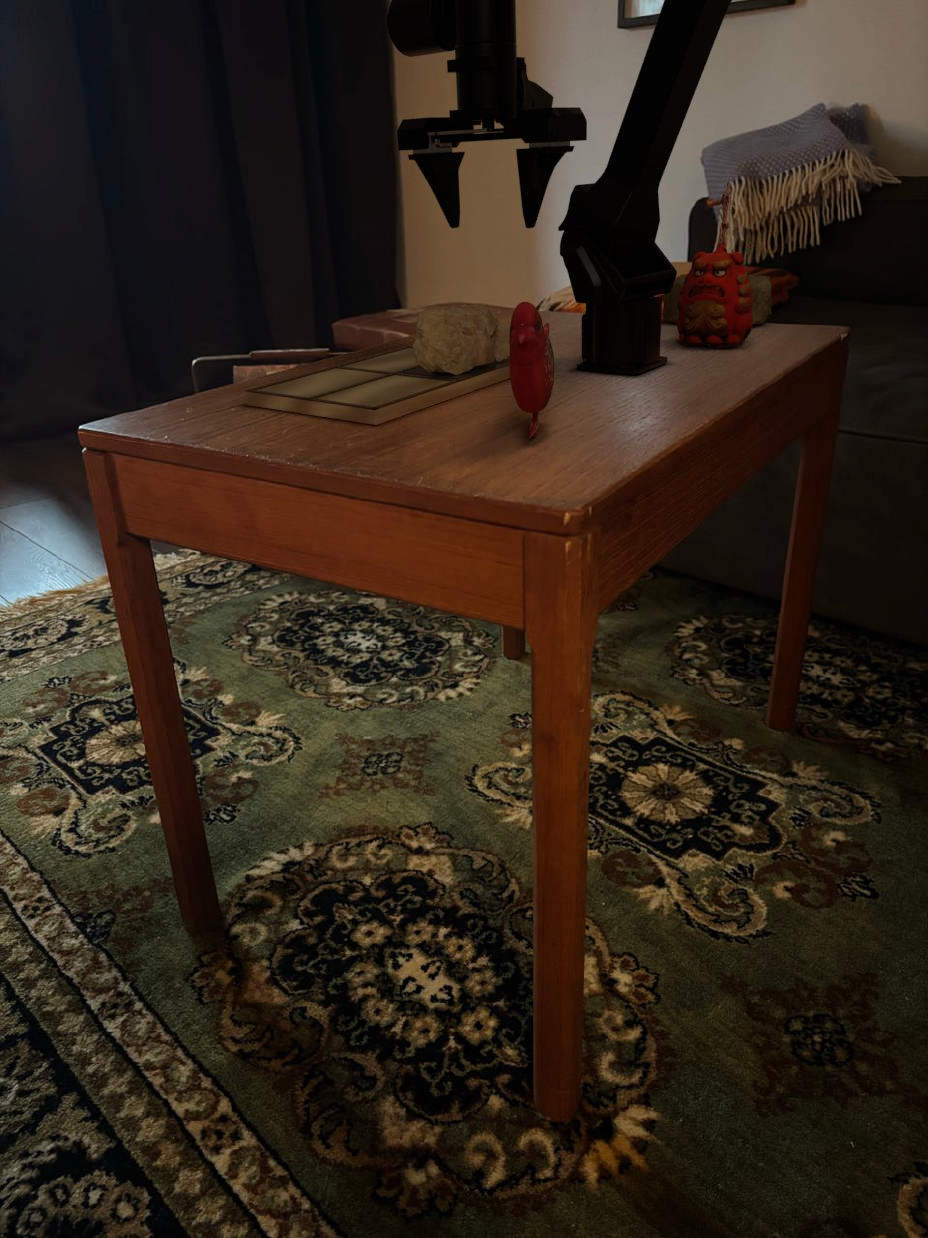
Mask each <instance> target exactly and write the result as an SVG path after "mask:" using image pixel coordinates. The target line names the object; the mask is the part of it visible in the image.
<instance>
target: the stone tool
mask: <svg viewBox="0 0 928 1238" xmlns="http://www.w3.org/2000/svg"><path fill="white" fill-rule="evenodd" d="M415 328H416V329H415V335H414V336H415V339H414V341H413V344H412V346H413V355H414V356H415V357H416V360H415V362H416V363H417V364H419V365H420V366H421V367H423V368H424V369H425V370H427V371H428V372H444V373H451V374H455V375H459V374H461V373H463V372H467V371H469V370H471V369H472V368H473V367H475V366H478V365H483V364H487V363H490V362H493V361H494V360H497V361H498V362H500V361H502V360H506V359H508V358H509V357H510V345H509V335H510V327H507V326H505V325H503V324H502V323H501V322H500V320H499V318H498V316H496V315H495V314H493V312H492V310H491V309H490V308H489V307H488V306H487V305H484V304H481V303H474V304H471V305H464V306H458V307H457V306H450V305H449V306H444V305H442V304H439V305H433V306H428V307H426V308H424V309H423V310H422V311H421V312H419V315H418V316H417V320H416V325H415Z"/></svg>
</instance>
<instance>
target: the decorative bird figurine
mask: <svg viewBox="0 0 928 1238" xmlns="http://www.w3.org/2000/svg"><path fill="white" fill-rule="evenodd" d="M509 329H510V335H509V345H510V361H509V362H510V378H509V379H510V385H511V391H512V394H513V398H514V400H515V402H516V404H517V406H518V408H519V409H520V410H521V411H523V412H524V413H527V414H532V415H531V419H530V422H529V429H528V435H529V436H528V439H529V440H531V439H532V438H534V437H536V436H537V434H538V431H539V427H540V421H539V413H540V412H543V410H544V409H545V408H546V407H547V406H548V404H549V402H550V400H551V396H552V393H553V388H554V383H555V355H554V354H555V353H554V349H553V345H552V342H551V339H550V324H549V322H546V323H545V324H544V323H543V320H542V317H541V313H540V312H539V310H538V309H537V307H536V305H534V304H533V303H532V302H529V301H521V302H520V303H518V304H517V305H516V307H515V308H514V310H513V312H512V315H511V320H510V325H509Z"/></svg>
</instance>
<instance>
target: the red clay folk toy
mask: <svg viewBox="0 0 928 1238" xmlns="http://www.w3.org/2000/svg"><path fill="white" fill-rule="evenodd" d="M731 193H732V191H731V182H726V191H724V192H723V193H722V197H721V199H713V198H712V197H708V198H707V199H705V202H706V206H705V208H706V209H707V210H708V209H709V210H710V209H711V208H713V207H715V206H720V205H721V206H722V221H721V224H720V226H721V233H720V234H721V235H720V238H719V240H718V244H717V248H716V249H715V250H714V251H713V252H711V253H708V252H704V251H699V252H697V253H695V255H694V256H693V257H692V261H691V266H690V269H689V271H688V272H687V273H686V274H687V276H686V278H685V281H684V284H683V286H682V288H681V289H680V294H679V299H678V310H679V315H678V320H677V323H676V328H677V329H676V330H677V332H678V340H679V342H680V343H681V344H682V345H683V344H686V345H695V346H697V345H704V346H709V347H711V348H731V347H738V346H739V347H740V344H741V343H743V342H745V341H746V340H747V338H748V337H749V335H750V334H751V332H752V330H753V325H754V324H753V314H752V303H753V296H752V289H751V284H750V280H749V277H748V275H749V274H748V272H747V270H746V267H745V265H744V263H743V261H744V258H743V253H741V252H739V251H733V252H728V249H727V236H726V235H727V234H726V232H727V230H728V229H729V228H730V226H729V225H730V224H729V222H728V220H727V217H728V213H729V204H730V195H731Z"/></svg>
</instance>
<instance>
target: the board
mask: <svg viewBox="0 0 928 1238" xmlns="http://www.w3.org/2000/svg"><path fill="white" fill-rule="evenodd" d="M415 360H416V357H415V356H414V355H413V345H406V346H403V347H399V348H395V349H391V350H387V351H384V352H381V353H377V354H373V355H370V356H366V357H363V358H358V359H354V360H350V361H348V362H344V363H340V364H337V365H336V364H335V365H333V366H329V367H325V368H322V369H318V370H315V371H311V372H308V373H304V374H300V375H297V376H292V377H288V378H285V379H282V380H278V381H275V382H271V383H267V384H262V385H259V386H256V387H252V388H249V389H245V396H246V402H247V403H246V404H247V406H251V407H257V408H264V409H270V410H277V411H283V412H289V413H296V414H302V415H309V416H315V417H322V418H328V419H334V420H335V419H336V420H340V421H341V420H342V421H347V422H355V423H361V424H367V425H372V426H373V425H374V426H378V425H381V424H383V423H386V422H389V421H392V420H395V419H398V418H400V417H403V416H406V415H409V414H412V413H414V412H418V411H420V410H423V409H426V408H429V407H432V406H435V405H437V404H440V403H443V402H445V401H449V400H451V399H454V398H457V397H461V396H463V395H466V394H468V393H471V392H474V391H477V390H480V389H483V388H486V387H488V386H492V385H494V384H497V383H500V382H503V381H506V380H509V379H510V362H509V361H510V357H509V358H508V359H506V360H502V361H500V362H498V361H497V360H494V361H493V362H490V363H487V364H483V365H478V366H475V367H473V368H472V369H471V370H469V371H467V372H463V373H461V374H459V375H455V374H451V373H444V372H428V371H427V370H425V369H424V368H423V367H421V366H420V365H419V364H417V363H416V362H415Z"/></svg>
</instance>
